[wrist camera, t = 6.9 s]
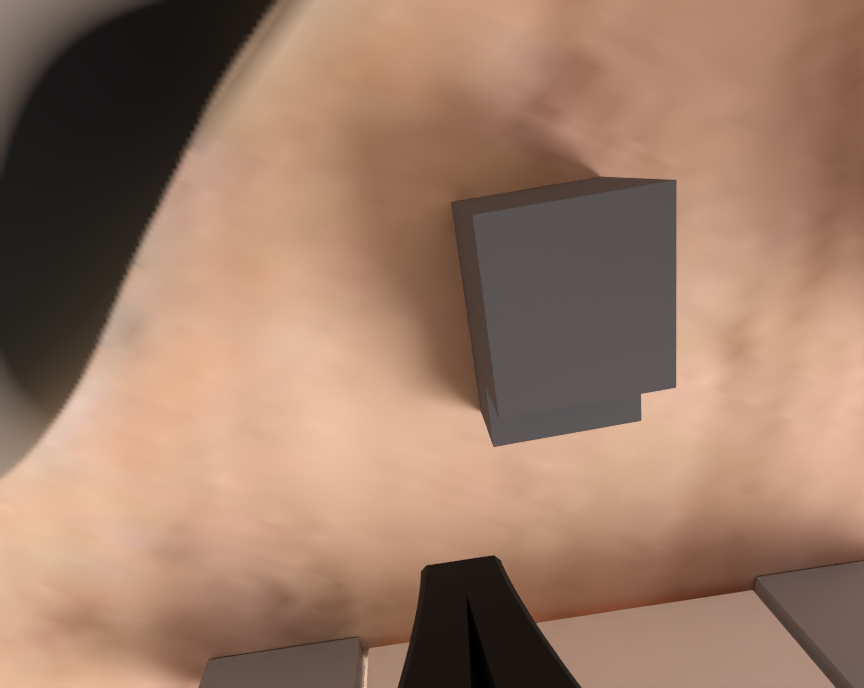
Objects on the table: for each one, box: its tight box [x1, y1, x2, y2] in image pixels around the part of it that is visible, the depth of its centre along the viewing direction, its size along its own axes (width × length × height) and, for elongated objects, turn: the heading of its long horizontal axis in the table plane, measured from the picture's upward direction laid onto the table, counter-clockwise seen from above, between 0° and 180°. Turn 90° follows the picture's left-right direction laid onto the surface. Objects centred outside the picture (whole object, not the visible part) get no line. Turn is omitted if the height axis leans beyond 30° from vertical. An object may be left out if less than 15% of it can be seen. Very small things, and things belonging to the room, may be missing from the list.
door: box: [367, 590, 836, 688], centre depth 18 cm, size 15×1×5 cm, turn 97°
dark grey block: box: [451, 177, 676, 447], centre depth 14 cm, size 4×7×4 cm, turn 9°
